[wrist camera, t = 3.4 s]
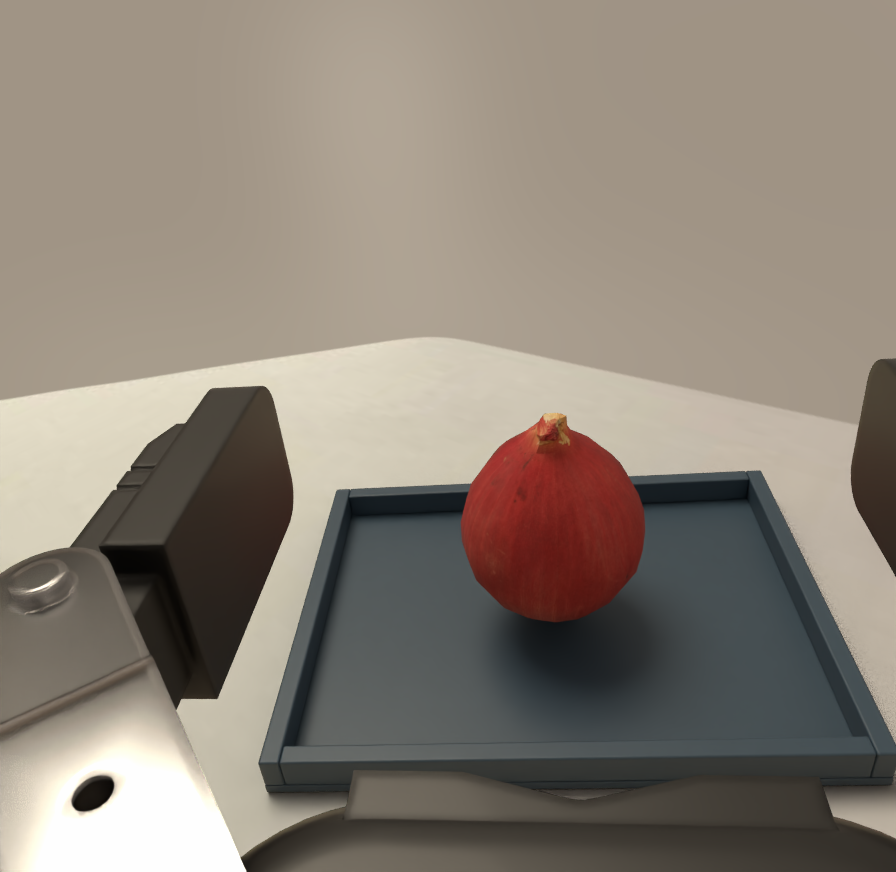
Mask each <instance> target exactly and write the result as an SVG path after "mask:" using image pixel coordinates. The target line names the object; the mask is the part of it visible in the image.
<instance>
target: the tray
mask: <svg viewBox="0 0 896 872" xmlns="http://www.w3.org/2000/svg"><path fill="white" fill-rule="evenodd" d="M628 477H629V478H630V480H631V482H632V483H633V485H634V487H635V489H636V490H637V492H638V494H639V497H640V500H641V503H642V506H643V508H644V517H645V537H644V544H643V551H642V555H641V558H640V562H639V565H638V568H637V572H636V573H635V574H634V575H633V576H632V578H631V579H630V580H629V581H628V582H627V583H626V585H625V586H624V587H623V588H622V589H621V590H620V591H619V593H618V594H617V595H616V596H615V597H614V598H613V599H612V601H611V602H610V603H609V604H607V605H605V606H603V607H601V608H599V609H598V610H596V611H594V612H592V613H590V614H588V615H587V616H584V617H582V618H579V619H577V620H570V621H562V622H549V621H542V620H535V619H531V618H527V617H525V616H522V615H520V614H517V613H515V612H513V611H510V610H508V609H505V608H503V607H502V606H501V605H500V604H499V603H498V602H497V601H496V600H495V599H494V598H493V597H492V596H491V595H490V594H489V593H488V592H487V591H486V590H485V589H484V588H483V587H482V586H481V585H480V584H479V583H478V582H477V581H476V579H475V576H474V574H473V571H472V568H471V566H470V563H469V560H468V558H467V555H466V552H465V549H464V546H463V543H462V536H461V519H462V515H463V510H464V506H465V503H466V498H467V495H468V492H469V489H470V486H471V484H452V485H430V486H408V487H386V488H364V489H351V491H350V489H342V490H337V491H336V494H335V498H334V501H333V505H332V508H331V512H330V515H329V519H328V522H327V526H326V529H325V533H324V536H323V540H322V543H321V547H320V550H319V554H318V557H317V561H316V564H315V568H314V571H313V575H312V578H311V582H310V585H309V589H308V592H307V596H306V599H305V602H304V606H303V609H302V613H301V616H300V620H299V623H298V627H297V630H296V634H295V637H294V641H293V644H292V648H291V651H290V655H289V658H288V662H287V665H286V669H285V672H284V676H283V679H282V683H281V686H280V690H279V693H278V697H277V700H276V704H275V707H274V711H273V714H272V718H271V721H270V725H269V728H268V732H267V735H266V739H265V742H264V746H263V749H262V753H261V756H260V760H259V767H260V770H261V773H262V776H263V779H264V782H265V784H266V785H265V787H266V790H267V792H315V791H349V790H350V786H351V781H352V776H353V772H354V770H388V771H458V772H466V773H470V774H474V775H478V776H482V777H486V778H490V779H493V780H497V781H501V782H505V783H509V784H513V785H517V786H521V787H525V788H529V789H574V788H643V787H647V786H652V785H656V784H660V783H665V782H669V781H674V780H678V779H683V778H687V777H692V776H696V775H738V776H808V777H819V778H820V781H821V784H822V786H833V785H892V782H893V779H894V778H893V776H894V773H895V770H896V744H895V742H894V740H893V738H892V736H891V734H890V732H889V730H888V728H887V726H886V724H885V722H884V719H883V717H882V715H881V713H880V711H879V709H878V707H877V705H876V703H875V701H874V699H873V697H872V695H871V693H870V691H869V689H868V687H867V685H866V683H865V681H864V679H863V677H862V675H861V673H860V671H859V669H858V667H857V665H856V663H855V661H854V659H853V657H852V655H851V653H850V651H849V649H848V647H847V645H846V642H845V640H844V638H843V636H842V634H841V632H840V630H839V628H838V626H837V624H836V622H835V620H834V618H833V616H832V614H831V612H830V610H829V608H828V606H827V604H826V602H825V600H824V598H823V596H822V594H821V592H820V590H819V588H818V586H817V584H816V582H815V580H814V578H813V576H812V574H811V572H810V570H809V568H808V565H807V563H806V561H805V559H804V557H803V555H802V553H801V551H800V549H799V547H798V545H797V543H796V541H795V539H794V537H793V535H792V533H791V531H790V529H789V527H788V525H787V523H786V521H785V519H784V517H783V515H782V513H781V511H780V509H779V507H778V505H777V503H776V501H775V499H774V497H773V495H772V493H771V491H770V489H769V486H768V484H767V482H766V480H765V478H764V476H763V474H762V472H761V471H746V472H745V471H737V472H715V473H693V474H672V475H650V476H628Z"/></svg>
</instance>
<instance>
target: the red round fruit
mask: <svg viewBox="0 0 896 872" xmlns="http://www.w3.org/2000/svg"><path fill="white" fill-rule="evenodd" d="M461 536H462V543H463V546H464V549H465V552H466V555H467V558H468V560H469V563H470V566H471V568H472V571H473V574H474V576H475V579H476V581H477V582H478V583H479V584H480V585H481V586H482V587H483V588H484V589H485V590H486V591H487V592H488V593H489V594H490V595H491V596H492V597H493V598H494V599H495V600H496V601H497V602H498V603H499V604H500V605H501V606H502V607H503V608H505V609H508V610H510V611H513V612H515V613H517V614H520V615H522V616H525V617H527V618H531V619H535V620H542V621H549V622H562V621H570V620H577V619H579V618H582V617H584V616H587V615H588V614H590V613H592V612H594V611H596V610H598V609H599V608H601V607H603V606H605V605H607V604H609V603H610V602H611V601H612V599H613V598H614V597H615V596H616V595H617V594H618V593H619V591H620V590H621V589H622V588H623V587H624V586H625V585H626V583H627V582H628V581H629V580H630V579H631V578H632V576H633V575H634V574H635V573H636V572H637V568H638V565H639V562H640V558H641V555H642V551H643V544H644V537H645V517H644V508H643V506H642V503H641V500H640V497H639V494H638V492H637V490H636V489H635V487H634V485H633V483H632V482H631V480H630V478H629V477H628V475H627V473H626V472H625V470H624V468H623V467H622V465H621V464H620V462H619V461H618V460H617V459H616V458H615V457H614V456H613V455H612V454H611V453H609V452H608V451H607V450H605V449H604V448H602V447H601V446H600V445H598V444H597V443H596V442H594V441H593V440H592V439H590V438H589V437H587V436H585V435H583V434H581V433H578V432H575V431H573V430H570V429H569V427H568V426H567V419H566V416H565V415H563V414H559V413H549V414H544V415H543V416H542V417H541V419H540V421H539V422H538V423H536V424H535V425H534V426H532V427H531V428H529V429H528V430H526V431H524V432H522V433H521V434H519V435H517V436H515V437H513V438H511V439H509V440H508V441H506V442H505V443H504V444H502V445H501V446H500V447H499V448H498V449H497V450H496V451H495V453H494V454H493V455H492V456H491V458H490V459H489V461H488V462H487V463H486V465H485V466H484V467H483V469H482V470H481V471H480V473H479V474H478V475H477V477H476V478H475V479H474V481H473V482H472V484H471V486H470V489H469V492H468V495H467V498H466V503H465V506H464V510H463V515H462V519H461Z"/></svg>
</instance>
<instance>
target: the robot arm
mask: <svg viewBox="0 0 896 872" xmlns="http://www.w3.org/2000/svg"><path fill="white" fill-rule="evenodd" d="M851 486H852V493H853V498H854V501H855V504H856V507H857V509H858V511H859V513H860V515H861V517H862V518H863V520H864V522H865V524H866V525H867V527H868V529H869V531H870V532H871V534H872V536H873V537H874V539H875V541H876V543H877V544H878V546H879V548H880V550H881V551H882V553H883V555H884V557H885V558H886V560H887V562H888V564H889V565H890V567H891V569H892V571H893V572H894V574H895V576H896V359H880V360H878V361H876V362H875V363H874V365H873V366H872V368H871V371H870V373H869V377H868V381H867V386H866V391H865V396H864V401H863V406H862V412H861V417H860V422H859V427H858V432H857V438H856V443H855V448H854V453H853V459H852V465H851ZM292 511H293V484H292V478H291V473H290V469H289V465H288V460H287V456H286V452H285V448H284V443H283V439H282V435H281V430H280V426H279V422H278V418H277V413H276V409H275V405H274V401H273V398H272V395H271V393H270V391H269V390H268V389H267V388H266V387H264V386H252V387H230V388H212V389H210V390H209V391H208V392H207V394H206V395H205V396H204V398H203V399H202V401H201V402H200V404H199V405H198V406H197V408H196V409H195V411H194V412H193V413H192V415H191V416H190V418H189V419H188V420H187V422H186V423H185V424H176V425H174V426H173V427H171V428H170V429H169V430H167V431H166V432H164V433H163V434H161V435H160V436H158V437H157V438H156V439H154V440H153V441H151V442H150V443H148V444H147V446H146V447H145V448H144V450H143V451H142V452H141V454H140V455H139V456H138V458H137V459H136V460H135V462H134V463H133V464H132V466H131V471H127V472H126V473H125V475H124V476H123V477H122V479H121V480H120V481H119V483H118V484H117V490H113V491H112V492H111V493H110V495H109V496H108V497H107V499H106V500H105V501H104V503H103V504H102V505H101V507H100V508H99V509H98V511H97V512H96V513H95V515H94V516H93V517H92V519H91V520H90V521H89V523H88V524H87V525H86V526H85V528H84V529H83V530H82V532H81V533H80V534H79V536H78V537H77V538H76V540H75V541H74V542H73V544H72V545H71V546H70V548H62V549H56V550H52V551H48V552H44V553H41V554H38V555H35V556H32V557H30V558H28V559H25V560H23V561H21V562H19V563H17V564H15V565H14V566H12V567H10V568H8V569H7V570H5V571H4V572H2V573H1V574H0V872H896V839H895V838H893V837H891V836H889V835H886V834H884V833H882V832H880V831H877V830H874V829H871V828H868V827H865V826H862V825H860V824H857V823H854V822H851V821H848V820H844V819H840V818H836V817H833V816H832V813H831V810H830V807H829V804H828V801H827V798H826V795H825V792H824V789H823V787H822V784H821V781H820V778H819V777H808V776H738V775H696V776H692V777H687V778H683V779H678V780H674V781H669V782H665V783H660V784H656V785H652V786H647V787H643V788H638V789H634V790H629V791H625V792H620V793H616V794H611V795H607V796H602V797H598V798H593V799H587V800H575V799H569V798H564V797H560V796H556V795H553V794H549V793H545V792H541V791H537V790H533V789H529V788H525V787H521V786H517V785H513V784H509V783H505V782H501V781H497V780H493V779H490V778H486V777H482V776H478V775H474V774H470V773H466V772H458V771H388V770H354V772H353V776H352V781H351V786H350V790H349V795H348V800H347V805H346V807H342V808H338V809H334V810H330V811H328V812H325V813H322V814H319V815H316V816H313V817H310V818H308V819H305V820H303V821H301V822H299V823H297V824H294V825H292V826H290V827H288V828H286V829H284V830H282V831H280V832H278V833H277V834H275V835H273V836H272V837H270V838H268V839H267V840H265V841H263V842H262V843H260V844H258V845H257V846H255V847H254V848H253V849H251V850H250V851H249V852H247V853H246V854H245V855H243V856H242V857H241V858H240V856H239V854H238V852H237V849H236V847H235V845H234V842H233V840H232V838H231V836H230V833H229V831H228V829H227V826H226V824H225V822H224V819H223V817H222V815H221V813H220V810H219V808H218V806H217V803H216V801H215V799H214V796H213V794H212V792H211V790H210V787H209V785H208V783H207V780H206V778H205V776H204V773H203V771H202V769H201V767H200V764H199V762H198V760H197V757H196V755H195V753H194V751H193V748H192V746H191V744H190V741H189V739H188V737H187V734H186V732H185V730H184V728H183V725H182V723H181V721H180V718H179V716H178V714H177V711H176V710H177V707H178V705H179V703H180V701H181V699H218V696H219V694H220V691H221V689H222V686H223V684H224V681H225V679H226V677H227V674H228V672H229V669H230V667H231V664H232V662H233V660H234V657H235V655H236V652H237V650H238V647H239V645H240V643H241V640H242V638H243V635H244V633H245V630H246V628H247V625H248V623H249V621H250V618H251V616H252V613H253V611H254V608H255V606H256V604H257V601H258V599H259V596H260V594H261V591H262V589H263V586H264V584H265V582H266V579H267V577H268V574H269V572H270V569H271V567H272V565H273V562H274V560H275V557H276V555H277V552H278V550H279V548H280V545H281V543H282V540H283V538H284V535H285V533H286V530H287V528H288V526H289V523H290V520H291V516H292Z"/></svg>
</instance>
